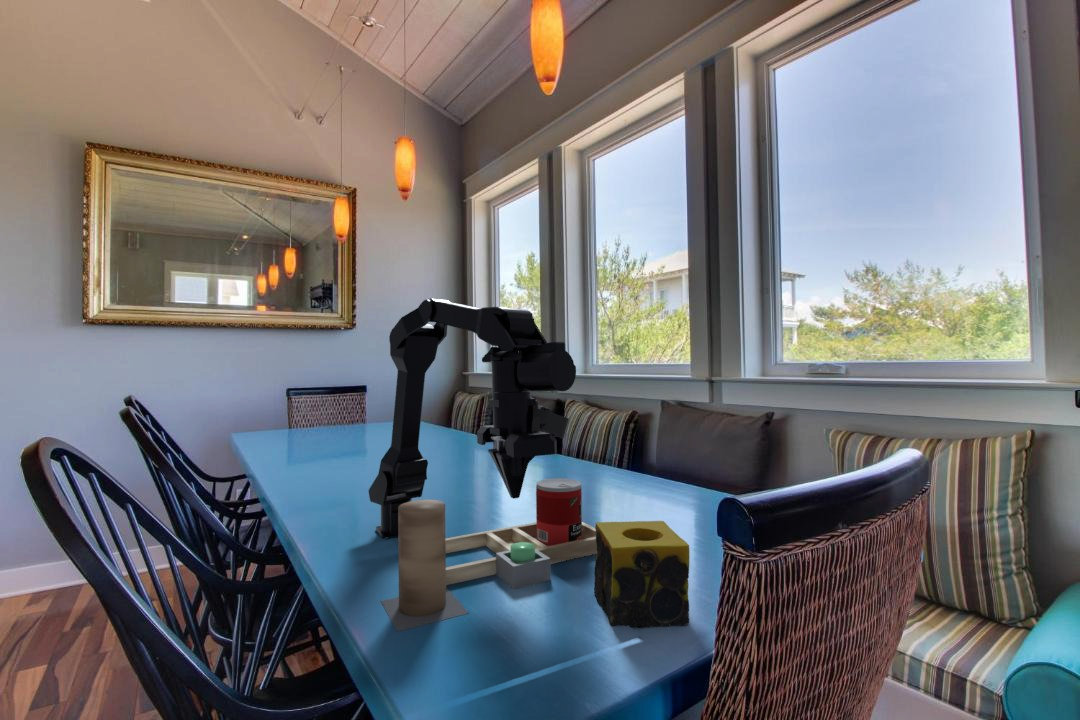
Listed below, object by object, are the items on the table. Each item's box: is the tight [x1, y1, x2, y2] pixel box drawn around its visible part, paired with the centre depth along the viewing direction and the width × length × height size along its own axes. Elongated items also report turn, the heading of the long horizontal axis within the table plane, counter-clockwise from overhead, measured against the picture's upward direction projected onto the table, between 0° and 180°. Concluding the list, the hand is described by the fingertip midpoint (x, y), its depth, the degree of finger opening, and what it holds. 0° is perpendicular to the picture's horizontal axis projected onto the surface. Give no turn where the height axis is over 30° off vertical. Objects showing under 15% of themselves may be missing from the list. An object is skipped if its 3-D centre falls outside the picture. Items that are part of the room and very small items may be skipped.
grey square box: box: [495, 549, 552, 590], centre depth 76 cm, size 6×6×4 cm
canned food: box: [535, 477, 583, 546], centre depth 90 cm, size 8×8×11 cm
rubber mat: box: [380, 586, 470, 633], centre depth 67 cm, size 9×9×1 cm
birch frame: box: [445, 521, 597, 586], centre depth 86 cm, size 13×30×2 cm, turn 119°
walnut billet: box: [397, 499, 447, 617], centre depth 68 cm, size 6×6×13 cm
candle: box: [593, 520, 690, 629], centre depth 67 cm, size 10×10×10 cm
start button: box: [511, 542, 535, 564], centre depth 76 cm, size 4×4×3 cm
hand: (515, 497), depth 76 cm, fingers closed
